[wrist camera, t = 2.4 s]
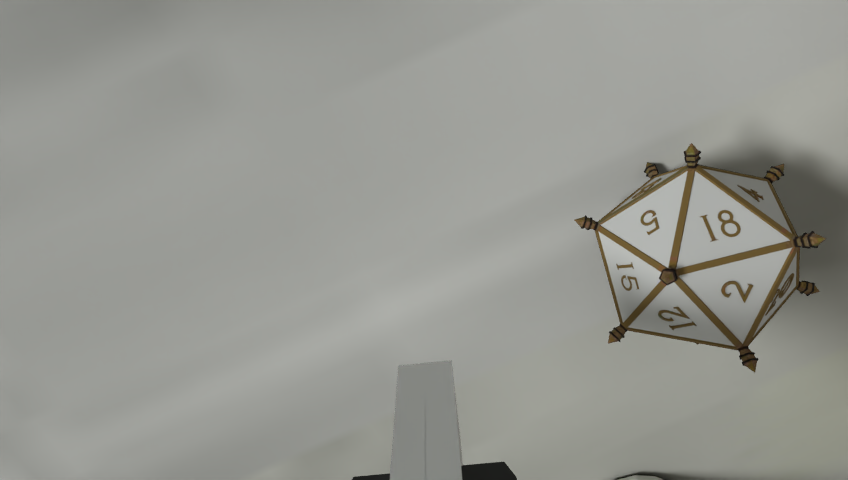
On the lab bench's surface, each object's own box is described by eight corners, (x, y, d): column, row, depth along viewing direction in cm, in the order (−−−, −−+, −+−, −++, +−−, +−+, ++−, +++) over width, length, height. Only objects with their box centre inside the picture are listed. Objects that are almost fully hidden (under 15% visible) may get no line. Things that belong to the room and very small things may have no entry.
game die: (646, 166, 29) (861, 97, 20) (690, 324, 29) (925, 325, 20) (509, 198, 25) (703, 131, 16) (559, 382, 25) (781, 415, 16)
